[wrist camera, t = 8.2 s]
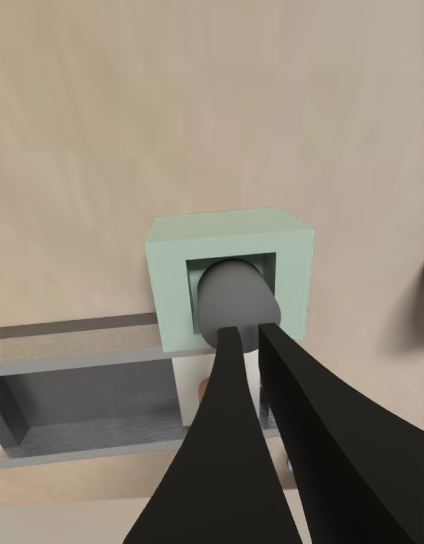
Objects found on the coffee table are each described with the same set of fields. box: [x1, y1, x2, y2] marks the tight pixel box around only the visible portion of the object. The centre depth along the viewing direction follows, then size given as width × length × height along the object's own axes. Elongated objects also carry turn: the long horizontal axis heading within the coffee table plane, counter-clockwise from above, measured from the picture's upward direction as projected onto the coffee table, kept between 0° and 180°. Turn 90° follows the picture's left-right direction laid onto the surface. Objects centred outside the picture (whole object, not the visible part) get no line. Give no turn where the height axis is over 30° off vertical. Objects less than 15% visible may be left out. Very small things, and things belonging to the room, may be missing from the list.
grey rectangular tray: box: [0, 312, 294, 469], centre depth 20 cm, size 10×22×4 cm, turn 94°
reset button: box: [197, 258, 281, 354], centre depth 13 cm, size 4×4×3 cm
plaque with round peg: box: [172, 349, 260, 426], centre depth 18 cm, size 7×6×6 cm
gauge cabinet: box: [144, 207, 315, 352], centre depth 16 cm, size 6×8×6 cm
